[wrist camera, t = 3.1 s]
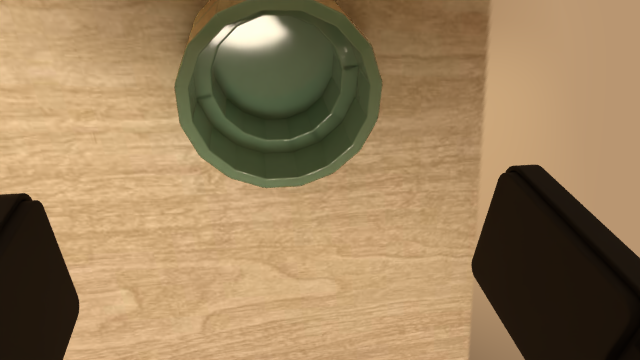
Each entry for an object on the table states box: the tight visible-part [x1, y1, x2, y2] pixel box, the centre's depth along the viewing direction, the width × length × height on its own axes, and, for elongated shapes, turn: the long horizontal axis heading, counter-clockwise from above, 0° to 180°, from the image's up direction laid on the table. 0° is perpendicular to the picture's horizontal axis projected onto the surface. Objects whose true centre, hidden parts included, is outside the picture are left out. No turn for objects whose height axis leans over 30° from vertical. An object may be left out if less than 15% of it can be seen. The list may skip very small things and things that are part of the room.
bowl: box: [174, 0, 382, 188], centre depth 17 cm, size 7×7×4 cm
